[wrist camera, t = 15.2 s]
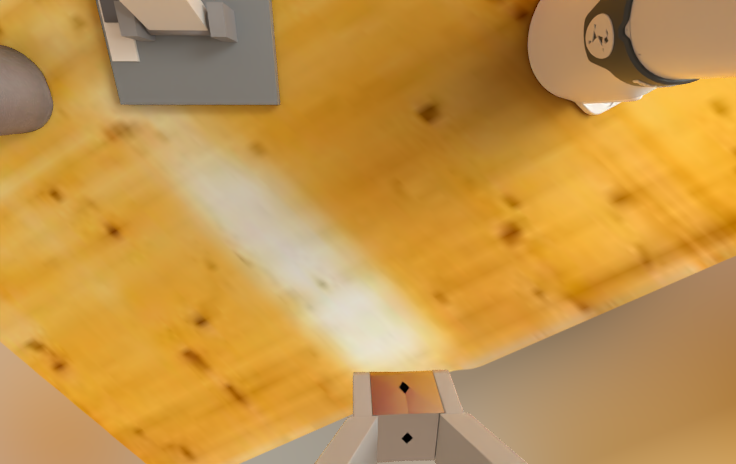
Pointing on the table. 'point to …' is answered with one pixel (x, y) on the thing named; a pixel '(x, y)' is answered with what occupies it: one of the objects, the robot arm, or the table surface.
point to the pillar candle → (22, 94)
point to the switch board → (195, 57)
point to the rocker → (171, 16)
